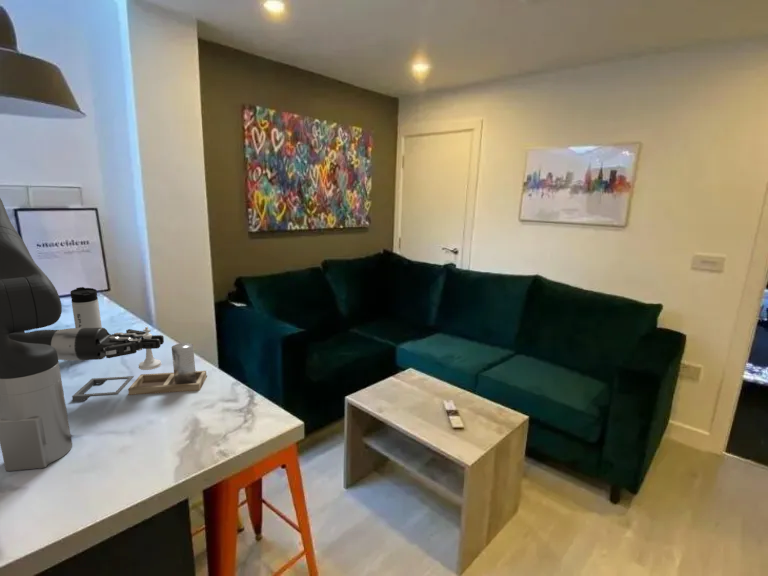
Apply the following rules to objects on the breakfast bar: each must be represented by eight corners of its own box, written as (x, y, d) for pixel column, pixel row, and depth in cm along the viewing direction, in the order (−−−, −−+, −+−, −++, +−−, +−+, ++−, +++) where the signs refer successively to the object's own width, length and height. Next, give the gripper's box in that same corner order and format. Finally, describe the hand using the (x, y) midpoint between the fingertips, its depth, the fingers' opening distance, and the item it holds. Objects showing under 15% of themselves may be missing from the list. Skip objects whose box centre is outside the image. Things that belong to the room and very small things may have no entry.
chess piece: (151, 371, 98) (147, 331, 95) (133, 368, 99) (129, 329, 96) (166, 363, 102) (163, 325, 100) (149, 360, 103) (145, 323, 101)
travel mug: (100, 348, 127) (92, 285, 123) (108, 353, 123) (99, 289, 119) (76, 353, 123) (66, 288, 118) (83, 359, 119) (73, 292, 114)
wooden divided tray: (200, 394, 100) (199, 384, 99) (128, 398, 97) (126, 389, 96) (207, 379, 108) (207, 370, 107) (141, 383, 105) (140, 374, 104)
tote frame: (118, 397, 97) (117, 393, 97) (72, 401, 95) (71, 396, 95) (133, 380, 106) (133, 376, 106) (92, 382, 104) (92, 378, 104)
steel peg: (193, 387, 101) (190, 349, 99) (172, 388, 100) (168, 350, 98) (198, 379, 106) (195, 342, 103) (178, 380, 105) (174, 343, 103)
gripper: (63, 339, 89) (150, 336, 92) (93, 319, 102) (169, 318, 105) (67, 371, 90) (153, 367, 94) (97, 348, 104) (171, 345, 107)
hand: (161, 341), depth 100 cm, fingers closed on chess piece
